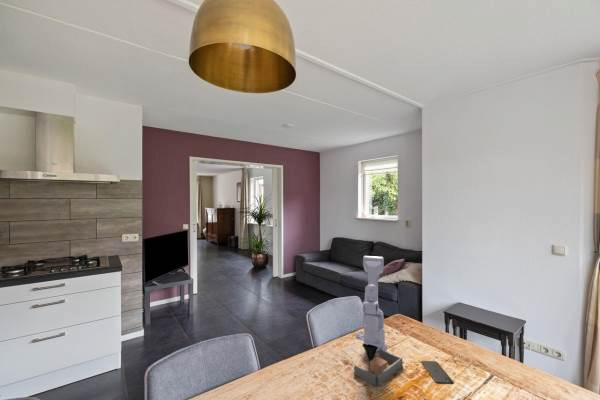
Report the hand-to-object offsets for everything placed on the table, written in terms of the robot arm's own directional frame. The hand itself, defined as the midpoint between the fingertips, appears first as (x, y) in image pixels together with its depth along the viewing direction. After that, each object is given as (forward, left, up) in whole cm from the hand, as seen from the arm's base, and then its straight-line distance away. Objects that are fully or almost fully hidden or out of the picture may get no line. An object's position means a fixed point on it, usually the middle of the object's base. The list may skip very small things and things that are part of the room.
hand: (370, 360), depth 117 cm
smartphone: (-17, +21, -3) cm, 27 cm away
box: (0, +4, -2) cm, 4 cm away
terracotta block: (0, +4, -2) cm, 5 cm away
